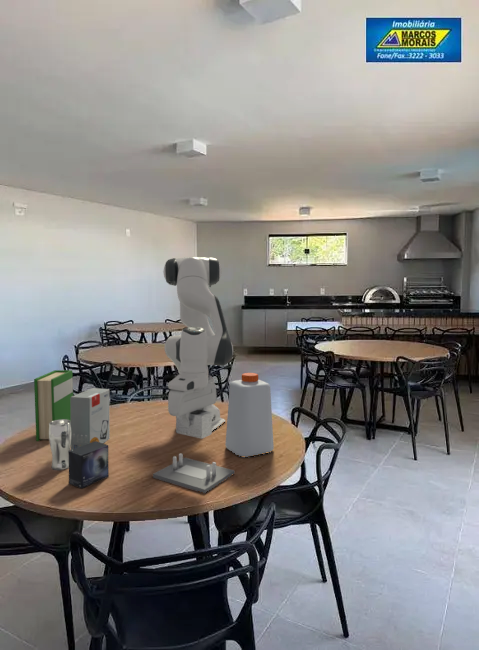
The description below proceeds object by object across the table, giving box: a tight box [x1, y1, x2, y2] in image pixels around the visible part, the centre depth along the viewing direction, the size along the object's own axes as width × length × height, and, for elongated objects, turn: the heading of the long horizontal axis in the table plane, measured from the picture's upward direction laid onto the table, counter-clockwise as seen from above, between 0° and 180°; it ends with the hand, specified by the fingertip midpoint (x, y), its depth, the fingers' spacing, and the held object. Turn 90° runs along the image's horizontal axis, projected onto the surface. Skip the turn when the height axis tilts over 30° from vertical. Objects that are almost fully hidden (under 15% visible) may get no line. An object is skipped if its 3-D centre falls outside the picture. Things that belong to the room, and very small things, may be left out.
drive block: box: [175, 410, 213, 440], centre depth 142 cm, size 5×10×7 cm, turn 58°
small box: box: [68, 441, 110, 489], centre depth 139 cm, size 11×6×10 cm, turn 148°
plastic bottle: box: [225, 372, 274, 458], centre depth 165 cm, size 15×15×28 cm
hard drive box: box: [70, 387, 111, 450], centre depth 169 cm, size 16×8×20 cm, turn 168°
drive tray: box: [152, 453, 236, 494], centre depth 143 cm, size 16×20×5 cm
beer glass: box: [48, 419, 72, 471], centre depth 149 cm, size 7×7×15 cm
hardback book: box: [33, 369, 74, 442], centre depth 182 cm, size 18×7×24 cm, turn 178°
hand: (193, 423), depth 142 cm, fingers closed on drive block, 5 cm apart
